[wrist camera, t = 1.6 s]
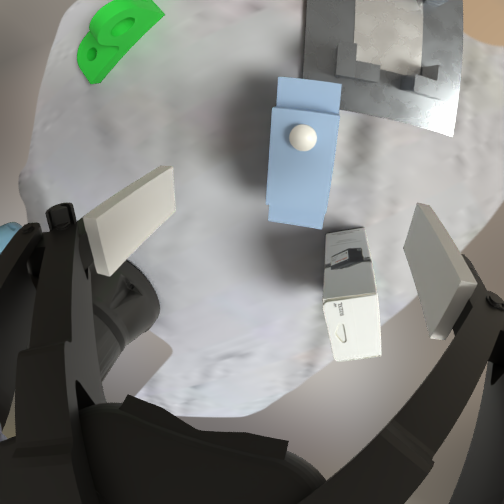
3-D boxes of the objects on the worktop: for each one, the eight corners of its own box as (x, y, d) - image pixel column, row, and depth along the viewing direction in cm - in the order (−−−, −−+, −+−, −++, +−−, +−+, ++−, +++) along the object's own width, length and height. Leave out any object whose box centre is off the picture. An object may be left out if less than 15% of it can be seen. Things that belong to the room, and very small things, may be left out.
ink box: (374, 285, 35) (382, 358, 26) (337, 291, 37) (334, 364, 27) (366, 225, 32) (379, 292, 22) (324, 232, 33) (319, 300, 24)
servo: (278, 197, 32) (262, 234, 25) (287, 78, 25) (272, 75, 18) (323, 204, 32) (321, 243, 25) (338, 84, 25) (343, 83, 17)
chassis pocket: (300, 103, 26) (295, 107, 22) (309, -62, 16) (304, -86, 11) (450, 135, 24) (472, 147, 19) (458, -27, 13) (478, -41, 8)
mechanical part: (141, -13, 22) (97, -25, 15) (166, 15, 24) (123, 3, 17) (81, 54, 27) (36, 58, 21) (101, 82, 29) (55, 90, 23)
